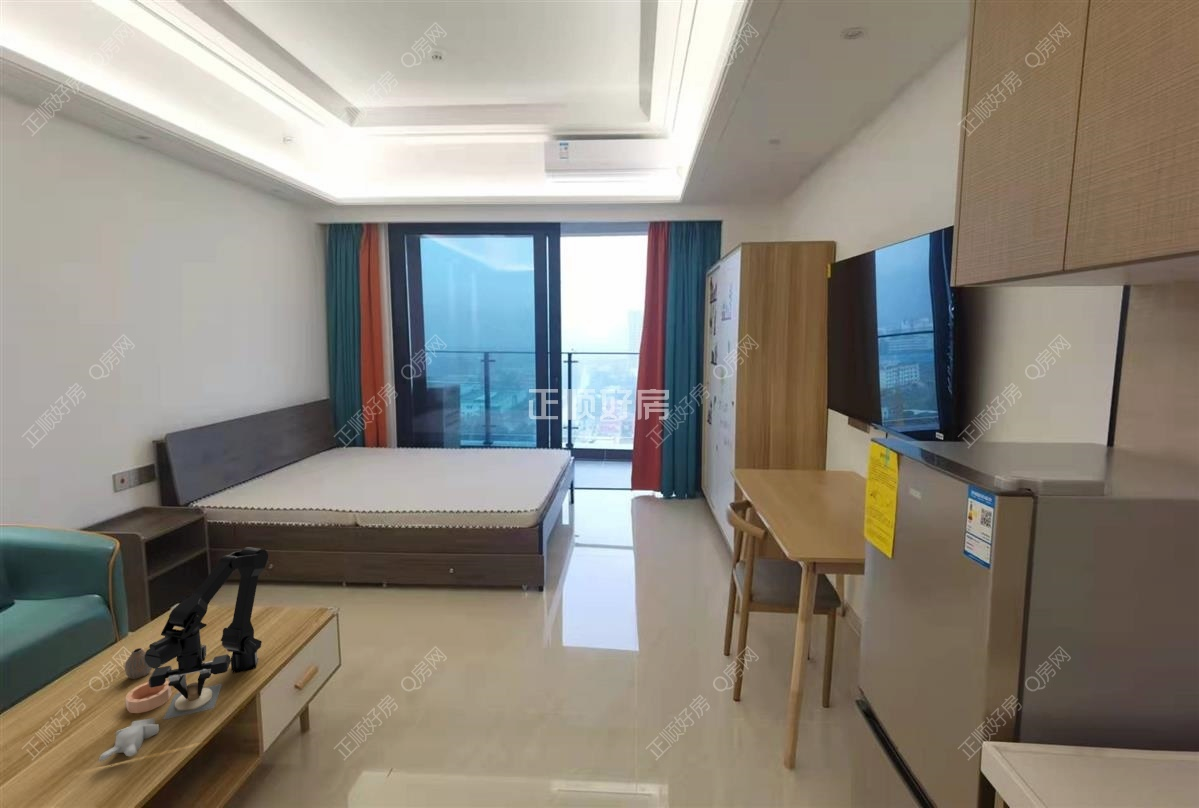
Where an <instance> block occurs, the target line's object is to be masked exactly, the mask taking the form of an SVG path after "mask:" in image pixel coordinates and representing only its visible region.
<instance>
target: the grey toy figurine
mask: <svg viewBox="0 0 1199 808" xmlns="http://www.w3.org/2000/svg"><path fill="white" fill-rule="evenodd" d="M155 722H156V719H155V718H154V717H152V718H145V719H138V720H133V721H132V722H131V725H129V726H127V727H124V728H122V729H119V730H117V731H115V742H114V746H113V747H111V748H108V750H106V751H104V752H103V753H101V754H100V756H99V758H98V762H102V761H105V760H107V759H109V758H110V757H111V756H113V754H115V753H116V754H120V753H123V754H124V755H125V756H126V757H133V756H135V755H136V754H137V753H138V750H139V749H140V748H141V747H142V745H143V743H144V740H145V739H148V738H151V737H154V736H156V735H158V733H159V732H160V730H159V729H160V727H159V726H160V725H159V723H155Z"/></svg>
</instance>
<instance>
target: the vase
mask: <svg viewBox="0 0 1199 808" xmlns="http://www.w3.org/2000/svg"><path fill="white" fill-rule="evenodd" d="M145 653H146V650H144V649H143V648H140V647H139V648H136V649H133V650H132V651H131V654H130V655H129V657H128V658H127V659H126V661H125V664H124V672H125V675H126V676H127V677H128V678H129V679H131V680H136V679H140V678H143V677H147V676H148V675H149V674H150V672H151V671H152V669H153V668H151V667H150V666H149V665H148V664H147V663H146V661H145V657H144V655H145Z"/></svg>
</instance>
